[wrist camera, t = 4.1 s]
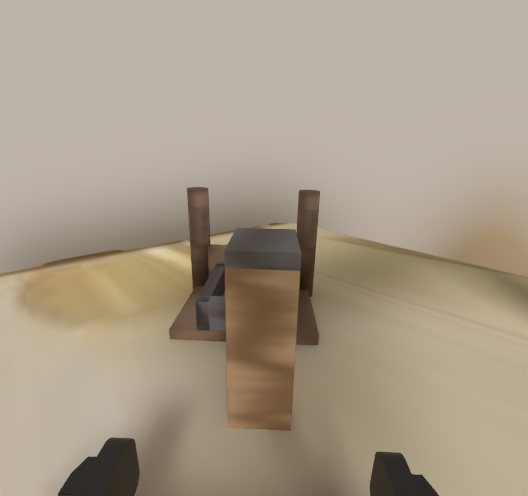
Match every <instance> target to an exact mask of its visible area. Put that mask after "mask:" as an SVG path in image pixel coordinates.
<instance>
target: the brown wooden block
mask: <svg viewBox="0 0 528 496" xmlns="http://www.w3.org/2000/svg"><path fill="white" fill-rule="evenodd" d="M224 260H225V303H226V346H227V389H228V427H234V428H253V429H272V430H291V414H292V398H293V382H294V365H295V349H296V333H297V317H298V301H299V284H300V268H301V249H300V245H299V242H298V238H297V234H296V230H291V229H256V228H237V229H236V230H235V232H234V234H233V236H232V237H231V239H230V241H229V243H228V245H227V246H226V248H225V250H224Z"/></svg>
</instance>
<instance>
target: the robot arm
mask: <svg viewBox="0 0 528 496" xmlns="http://www.w3.org/2000/svg"><path fill="white" fill-rule="evenodd" d="M138 480H139V464H138V458H137V452H136V445H135V441H134V439H130V438H109V439H108V440H107V441H106V443H105V444H104V446H103V447H102V449H101V451H100V452H99V454H98V456H97V457H87V458H86V459H85V460H84V461H83V462H82V463H81V464H80V465H79V466H78V467H77V468H76V469H75V470H74V471H73V472H72V473H71V474H70V476H69V477H68V479H67V481H66V482H65V484H64V485H63V487H62V488H61V490H60V491H59V493H58V496H134V494H135V492H136V488H137V485H138ZM370 496H439V495H438V494H437V492H436V491H435V490H434V489H433V488H432V486H431V485H430V484H429V483H428V482H427V480H426V479H425V478H424V477H423V475H414V474H411V472H410V469H409V467H408V465H407V462H406V460H405V458H404V456H403V455H402V454H401V453H393V452H376V454H375V459H374V464H373V470H372V475H371V481H370Z"/></svg>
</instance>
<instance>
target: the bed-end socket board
mask: <svg viewBox="0 0 528 496" xmlns="http://www.w3.org/2000/svg"><path fill="white" fill-rule="evenodd" d="M187 195H188V212H189V229H190V246H191V262H192V279H193V292H192V294H191V295H190V297H189V299H188V300H187V302H186V303H185V305H184V307H183V308H182V310H181V311H180V313H179V315H178V316H177V318H176V319H175V321H174V323H173V324H172V326H171V328H170V329H169V333H170V339H188V340H212V341H226V303H225V260H224V250H225V248H226V246H227V245H210V225H209V197H208V188H204V187H193V188H187ZM319 199H320V191H316V190H299V201H298V202H299V203H298V219H297V238H298V242H299V245H300V249H301V268H300V284H299V301H298V317H297V333H296V344H309V345H318V341H319V334H318V330H317V325H316V321H315V317H314V313H313V309H312V305H311V300H310V296H312V290H313V277H314V264H315V251H316V238H317V225H318V211H319Z"/></svg>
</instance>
